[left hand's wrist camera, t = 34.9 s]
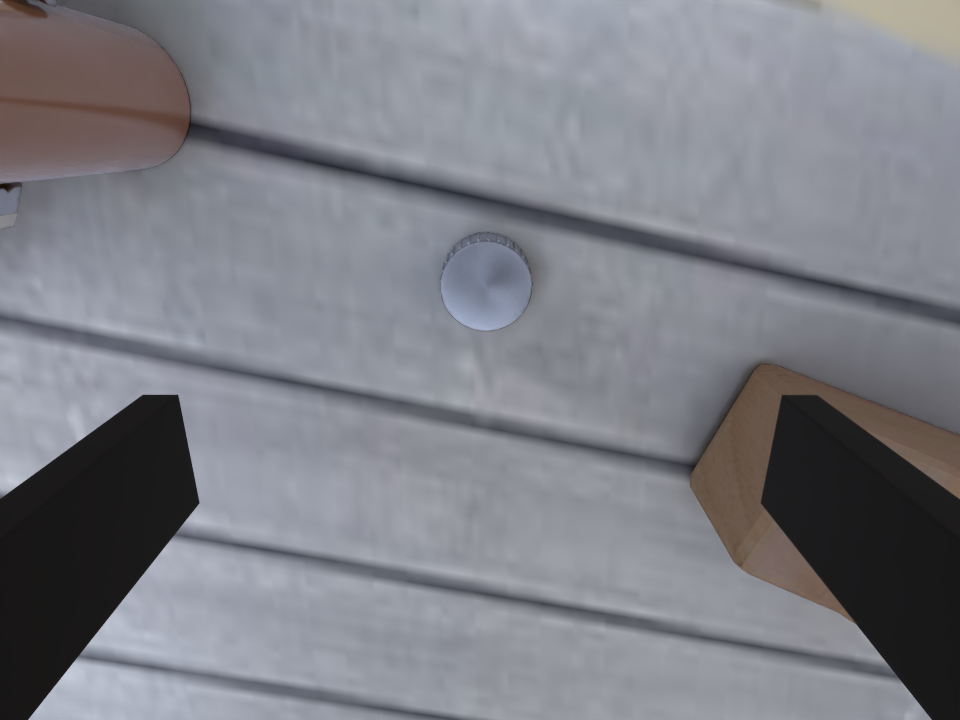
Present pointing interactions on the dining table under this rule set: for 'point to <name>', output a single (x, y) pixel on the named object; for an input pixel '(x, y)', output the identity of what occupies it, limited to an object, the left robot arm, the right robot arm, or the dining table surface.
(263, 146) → the dining table surface
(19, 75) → the bottle
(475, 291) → the cap
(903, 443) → the decorative block
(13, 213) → the right robot arm
